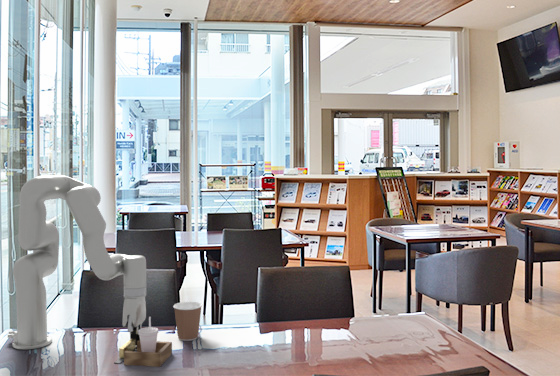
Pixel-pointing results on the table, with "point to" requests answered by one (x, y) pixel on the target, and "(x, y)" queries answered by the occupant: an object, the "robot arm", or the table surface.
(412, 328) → the table surface
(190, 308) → the coffee cup
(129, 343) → the lock bar
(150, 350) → the smoothie
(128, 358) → the cradle
